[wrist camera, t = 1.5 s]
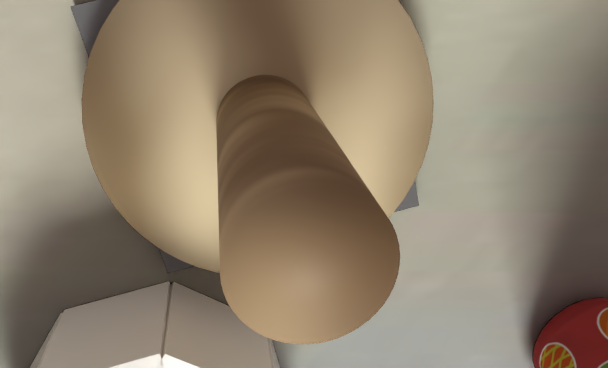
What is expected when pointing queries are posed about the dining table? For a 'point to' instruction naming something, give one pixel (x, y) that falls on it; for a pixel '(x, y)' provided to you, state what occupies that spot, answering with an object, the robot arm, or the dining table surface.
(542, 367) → the smoothie
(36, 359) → the bowl
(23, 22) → the dining table surface
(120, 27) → the wooden peg stand
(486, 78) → the dining table surface
